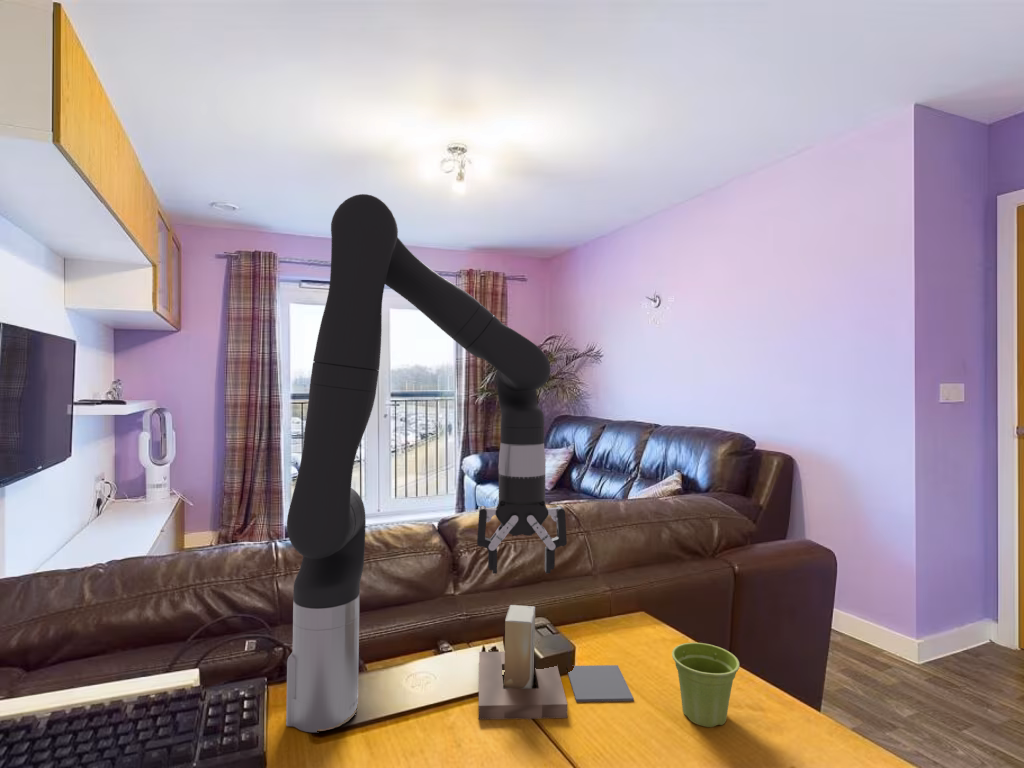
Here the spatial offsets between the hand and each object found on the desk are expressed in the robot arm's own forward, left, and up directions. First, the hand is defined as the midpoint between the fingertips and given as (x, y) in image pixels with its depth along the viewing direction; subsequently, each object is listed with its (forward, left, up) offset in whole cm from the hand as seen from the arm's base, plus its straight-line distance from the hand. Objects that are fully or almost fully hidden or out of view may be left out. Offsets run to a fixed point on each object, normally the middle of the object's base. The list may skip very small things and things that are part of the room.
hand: (521, 572), depth 87 cm
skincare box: (0, 0, -19) cm, 19 cm away
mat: (+13, +1, -19) cm, 23 cm away
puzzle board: (0, 0, -19) cm, 19 cm away
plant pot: (+27, -8, -19) cm, 34 cm away
